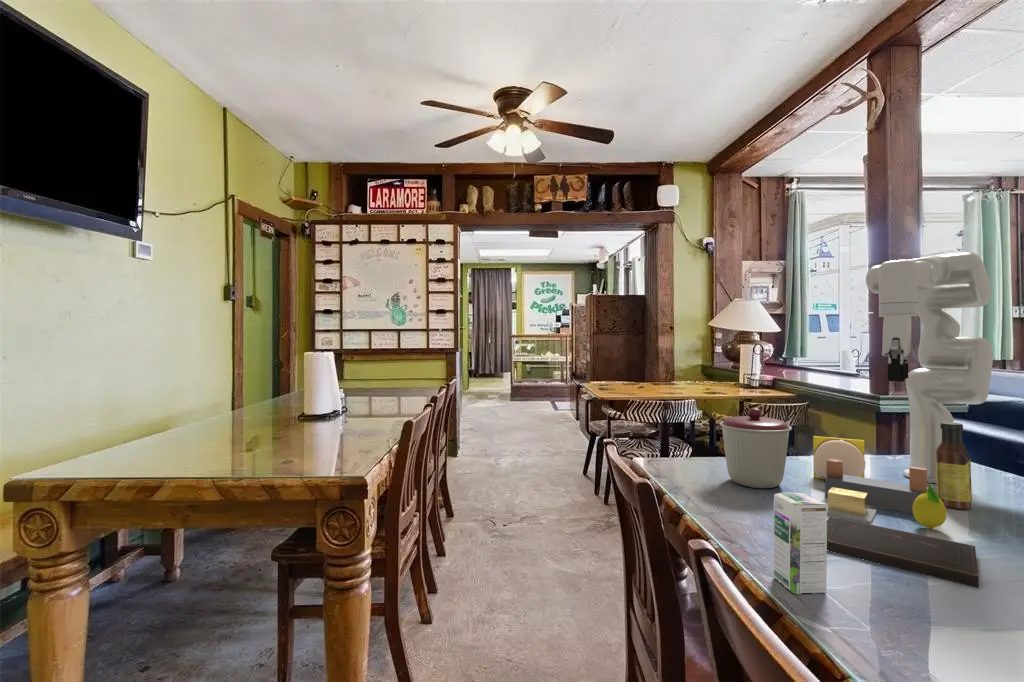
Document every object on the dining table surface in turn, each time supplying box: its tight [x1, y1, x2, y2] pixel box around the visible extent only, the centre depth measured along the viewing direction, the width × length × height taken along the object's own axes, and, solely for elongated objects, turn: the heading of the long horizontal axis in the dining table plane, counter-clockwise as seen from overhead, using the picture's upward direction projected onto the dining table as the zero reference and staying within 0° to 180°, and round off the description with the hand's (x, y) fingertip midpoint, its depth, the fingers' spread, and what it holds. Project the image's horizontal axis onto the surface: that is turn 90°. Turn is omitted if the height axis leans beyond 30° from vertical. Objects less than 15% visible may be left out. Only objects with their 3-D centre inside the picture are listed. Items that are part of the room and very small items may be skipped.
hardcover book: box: [827, 515, 980, 589], centre depth 93 cm, size 16×23×2 cm
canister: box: [719, 407, 793, 489], centre depth 136 cm, size 18×18×21 cm
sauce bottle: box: [936, 422, 973, 510], centre depth 117 cm, size 7×6×20 cm
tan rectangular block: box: [827, 487, 869, 516], centre depth 113 cm, size 5×7×4 cm
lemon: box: [912, 482, 948, 530], centre depth 103 cm, size 7×6×10 cm
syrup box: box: [772, 492, 828, 595], centre depth 80 cm, size 6×6×14 cm
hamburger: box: [812, 435, 866, 480], centre depth 137 cm, size 12×8×12 cm
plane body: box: [824, 459, 928, 515], centre depth 119 cm, size 7×20×10 cm, turn 47°
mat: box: [823, 499, 878, 525], centre depth 113 cm, size 10×10×1 cm
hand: (898, 379), depth 121 cm, fingers open, 9 cm apart
